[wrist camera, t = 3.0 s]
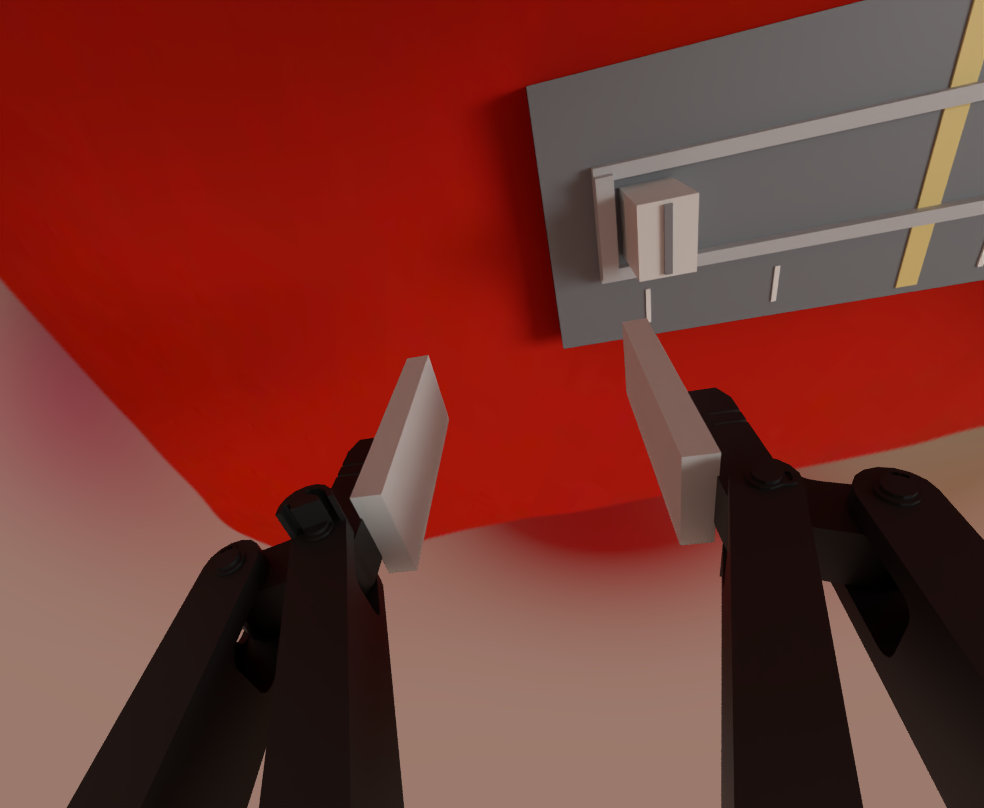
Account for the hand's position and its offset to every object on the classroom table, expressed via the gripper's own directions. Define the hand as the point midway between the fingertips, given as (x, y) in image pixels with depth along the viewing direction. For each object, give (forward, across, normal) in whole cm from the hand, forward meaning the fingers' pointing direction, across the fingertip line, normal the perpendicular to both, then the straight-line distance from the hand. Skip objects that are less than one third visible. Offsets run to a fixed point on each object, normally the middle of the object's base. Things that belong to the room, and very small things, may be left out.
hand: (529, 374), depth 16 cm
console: (+19, +18, 0) cm, 26 cm away
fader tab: (+16, +7, 0) cm, 18 cm away
